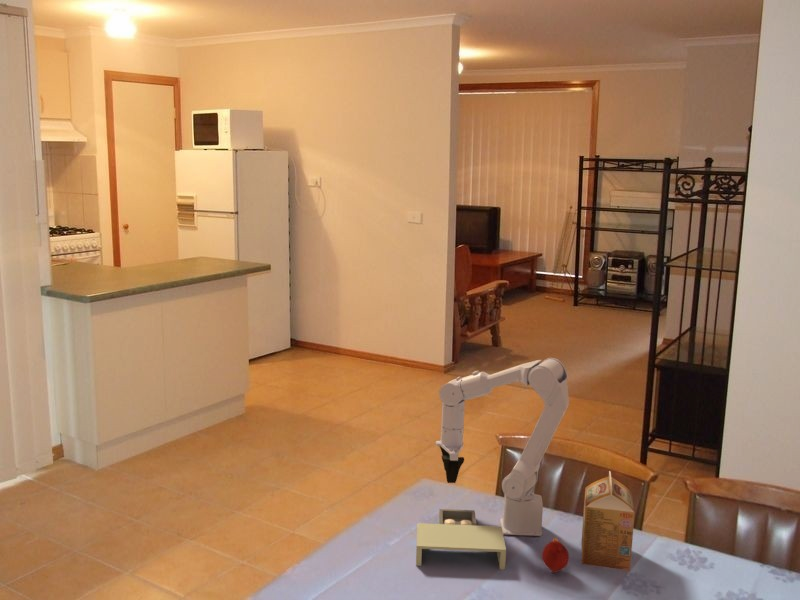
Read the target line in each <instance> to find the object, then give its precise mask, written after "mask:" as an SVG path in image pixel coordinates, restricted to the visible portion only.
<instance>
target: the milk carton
mask: <svg viewBox="0 0 800 600" xmlns="http://www.w3.org/2000/svg"><path fill="white" fill-rule="evenodd" d="M584 490H585V491H584V503H583V513H582V514H583V517H582V528H581V565H585V566H592V567H600V568H608V569H616V570H623V571H631V560H632V549H633V540H634V539H633V538H634V537H633V536H634V528H635V527H634V525H635V515H636V513H635V505H634V501H633V500H634V499H633V494H632V492H631V491H630V490H629V489H628V488H627V487H626V486H625V485H624V484H623V483H621V482H619V481H618V480H616V479H615V478H613V477H612V473H611V471H610V470H609V471H608V476H605V477H603V478H601V479H598V480H596V481H593V482H592V483H590V484H589V485H587V486H585V489H584Z"/></svg>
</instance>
